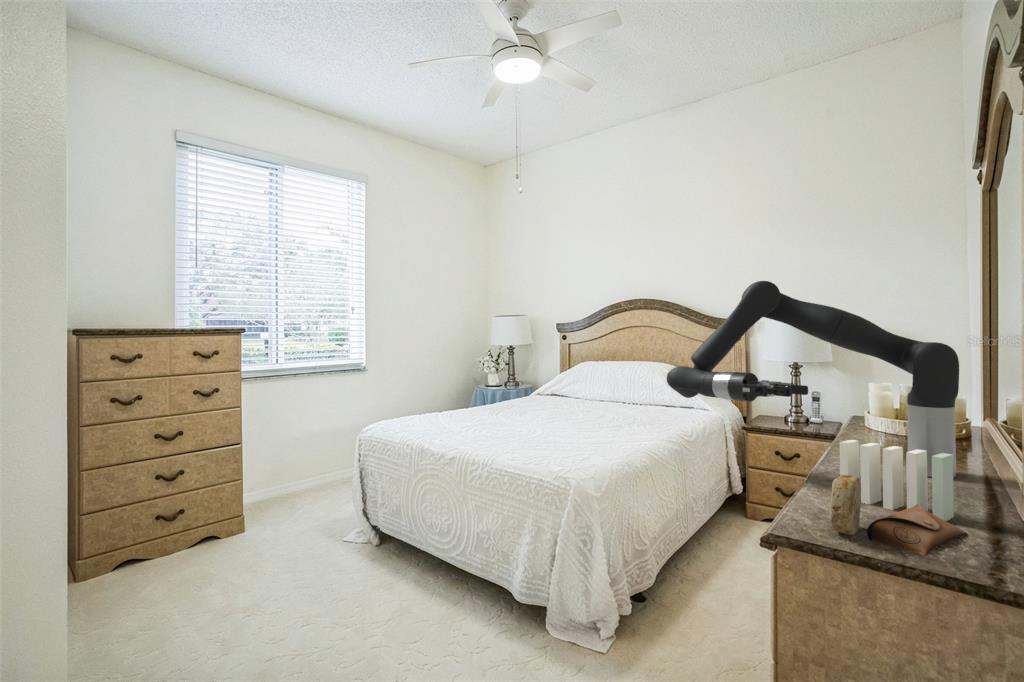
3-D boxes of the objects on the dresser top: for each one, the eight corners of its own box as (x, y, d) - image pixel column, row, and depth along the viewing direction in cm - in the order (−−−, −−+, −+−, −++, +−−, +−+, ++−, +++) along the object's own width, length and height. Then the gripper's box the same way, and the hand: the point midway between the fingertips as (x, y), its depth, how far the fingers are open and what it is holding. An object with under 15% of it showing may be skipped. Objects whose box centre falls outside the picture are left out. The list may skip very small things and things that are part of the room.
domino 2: (861, 502, 103) (860, 445, 103) (872, 498, 106) (871, 442, 106) (869, 504, 102) (868, 446, 102) (880, 500, 104) (880, 443, 105)
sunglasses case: (927, 557, 77) (901, 513, 80) (883, 565, 82) (859, 524, 85) (970, 533, 86) (944, 495, 89) (927, 542, 92) (904, 505, 94)
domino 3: (883, 508, 100) (882, 448, 100) (894, 503, 102) (893, 445, 102) (892, 510, 98) (891, 450, 99) (903, 505, 101) (902, 447, 101)
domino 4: (907, 513, 96) (906, 452, 96) (917, 509, 99) (917, 449, 99) (917, 516, 95) (916, 453, 95) (927, 511, 98) (926, 450, 98)
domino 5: (932, 519, 93) (931, 456, 93) (943, 514, 96) (942, 452, 96) (943, 522, 92) (942, 457, 92) (953, 517, 94) (952, 454, 94)
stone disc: (840, 521, 93) (839, 468, 93) (864, 526, 90) (863, 471, 90) (826, 537, 85) (825, 479, 85) (852, 543, 83) (851, 483, 83)
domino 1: (840, 497, 107) (839, 442, 107) (851, 493, 109) (850, 439, 109) (848, 499, 105) (847, 443, 105) (859, 495, 108) (859, 440, 108)
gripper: (717, 373, 127) (782, 376, 113) (751, 371, 134) (815, 374, 120) (718, 402, 127) (782, 409, 113) (751, 398, 134) (815, 405, 120)
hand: (799, 391), depth 116 cm, fingers open, 6 cm apart
